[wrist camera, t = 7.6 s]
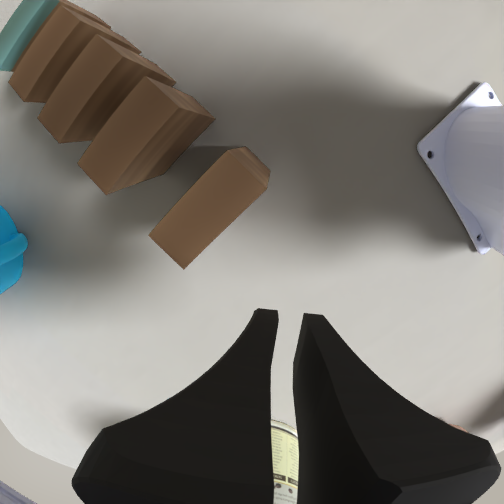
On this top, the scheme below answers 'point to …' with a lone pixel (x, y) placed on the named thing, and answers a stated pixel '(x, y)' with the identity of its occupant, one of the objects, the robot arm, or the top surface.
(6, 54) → the domino
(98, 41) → the domino
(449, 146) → the robot arm
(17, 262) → the mug
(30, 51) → the domino
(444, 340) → the top surface
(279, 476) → the coffee can
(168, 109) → the domino
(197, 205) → the domino
